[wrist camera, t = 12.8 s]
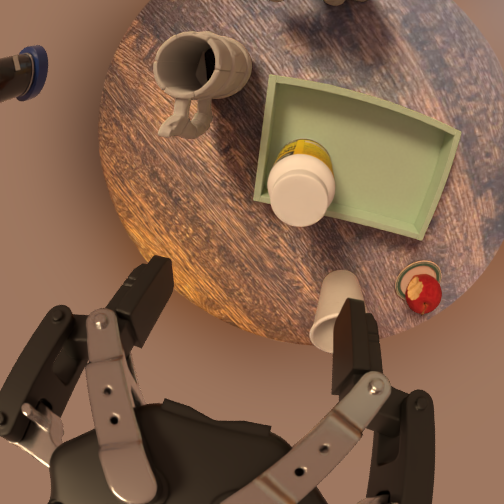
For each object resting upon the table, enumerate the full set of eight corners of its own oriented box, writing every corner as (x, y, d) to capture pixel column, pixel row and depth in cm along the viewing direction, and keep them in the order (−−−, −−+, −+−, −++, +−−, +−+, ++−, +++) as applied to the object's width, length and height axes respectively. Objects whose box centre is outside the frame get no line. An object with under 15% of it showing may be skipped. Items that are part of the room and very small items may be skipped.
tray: (258, 190, 34) (252, 200, 32) (273, 75, 25) (269, 74, 23) (414, 227, 32) (421, 241, 29) (449, 126, 23) (461, 132, 21)
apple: (390, 299, 39) (396, 330, 34) (399, 258, 35) (409, 289, 30) (432, 297, 37) (442, 327, 32) (445, 258, 33) (460, 287, 28)
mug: (261, 43, 23) (230, 21, 14) (240, 135, 30) (202, 165, 21) (197, 35, 24) (140, 21, 14) (182, 124, 31) (125, 149, 21)
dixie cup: (303, 290, 42) (297, 341, 34) (334, 253, 37) (335, 304, 29) (345, 310, 43) (346, 361, 35) (378, 278, 38) (387, 330, 30)
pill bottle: (291, 127, 28) (280, 150, 19) (340, 153, 28) (352, 188, 20) (269, 172, 32) (249, 214, 23) (315, 195, 32) (314, 246, 23)
